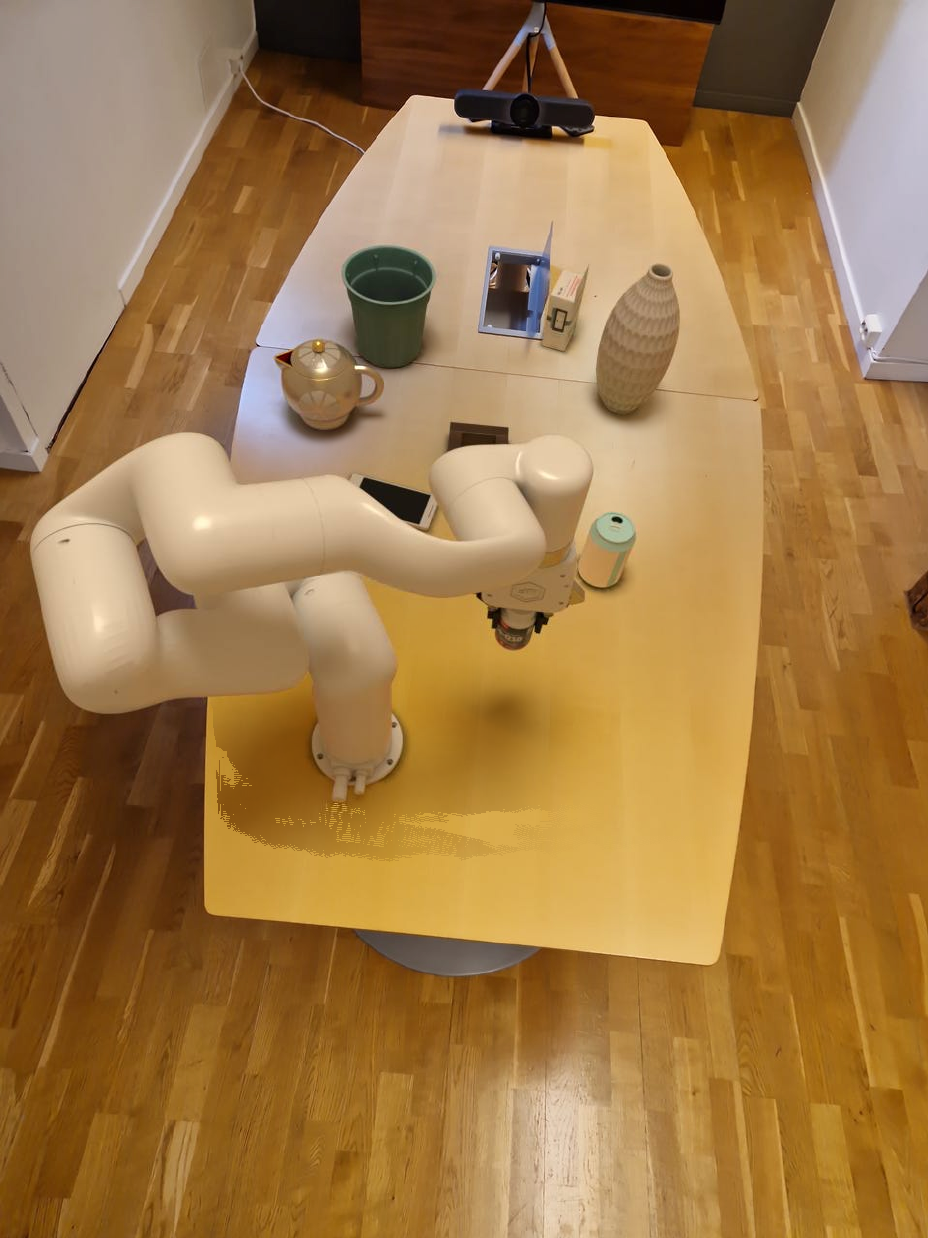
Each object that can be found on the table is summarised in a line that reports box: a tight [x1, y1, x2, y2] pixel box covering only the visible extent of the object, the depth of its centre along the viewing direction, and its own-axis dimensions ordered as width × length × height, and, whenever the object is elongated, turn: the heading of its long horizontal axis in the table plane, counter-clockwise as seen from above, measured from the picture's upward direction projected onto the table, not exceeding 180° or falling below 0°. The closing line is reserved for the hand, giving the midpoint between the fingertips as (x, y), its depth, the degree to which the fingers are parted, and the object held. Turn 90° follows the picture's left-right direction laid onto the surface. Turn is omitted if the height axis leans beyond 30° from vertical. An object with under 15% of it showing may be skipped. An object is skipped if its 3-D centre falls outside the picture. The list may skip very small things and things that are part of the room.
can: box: [577, 511, 637, 588], centre depth 127 cm, size 7×7×12 cm
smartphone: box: [349, 473, 439, 532], centre depth 136 cm, size 7×16×1 cm, turn 74°
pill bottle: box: [494, 607, 537, 652], centre depth 102 cm, size 5×5×8 cm
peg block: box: [447, 421, 510, 452], centre depth 141 cm, size 10×10×4 cm
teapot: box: [273, 338, 385, 431], centre depth 139 cm, size 18×14×16 cm
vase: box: [595, 262, 681, 415], centre depth 140 cm, size 13×13×28 cm
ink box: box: [541, 262, 590, 352], centre depth 155 cm, size 8×5×15 cm, turn 160°
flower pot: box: [341, 244, 437, 369], centre depth 149 cm, size 16×16×16 cm
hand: (516, 620), depth 103 cm, fingers closed on pill bottle, 4 cm apart
